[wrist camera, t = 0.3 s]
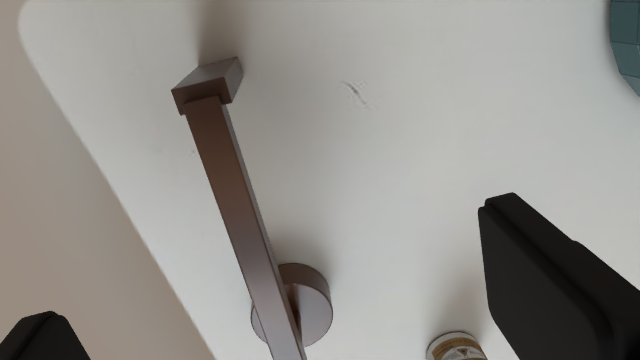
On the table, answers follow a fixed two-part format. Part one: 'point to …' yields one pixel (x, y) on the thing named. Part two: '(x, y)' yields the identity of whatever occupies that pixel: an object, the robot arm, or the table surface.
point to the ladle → (251, 219)
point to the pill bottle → (455, 348)
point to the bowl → (626, 39)
